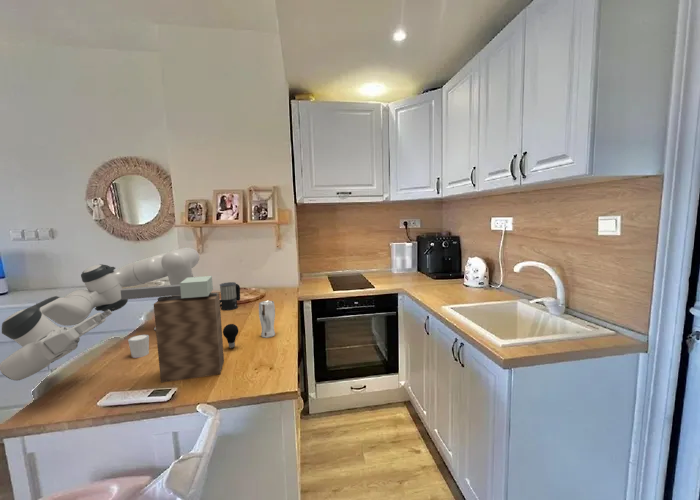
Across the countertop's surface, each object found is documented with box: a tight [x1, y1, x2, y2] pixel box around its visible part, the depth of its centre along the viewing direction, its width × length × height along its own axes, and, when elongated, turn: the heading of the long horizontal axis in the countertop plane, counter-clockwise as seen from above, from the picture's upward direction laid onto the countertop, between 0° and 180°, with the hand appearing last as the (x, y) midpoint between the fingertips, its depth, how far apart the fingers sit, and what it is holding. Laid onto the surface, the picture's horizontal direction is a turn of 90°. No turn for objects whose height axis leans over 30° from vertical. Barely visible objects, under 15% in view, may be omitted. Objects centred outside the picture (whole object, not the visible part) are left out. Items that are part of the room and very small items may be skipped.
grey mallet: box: [121, 275, 214, 300], centre depth 105 cm, size 26×10×5 cm, turn 105°
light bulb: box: [222, 323, 239, 349], centre depth 128 cm, size 6×6×10 cm
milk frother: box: [219, 282, 241, 311], centre depth 189 cm, size 14×16×15 cm
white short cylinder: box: [127, 334, 150, 359], centre depth 124 cm, size 7×7×7 cm
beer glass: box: [258, 300, 276, 339], centre depth 141 cm, size 7×7×15 cm
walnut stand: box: [153, 291, 225, 383], centre depth 108 cm, size 18×10×27 cm, turn 105°
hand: (102, 315), depth 101 cm, fingers open, 8 cm apart
